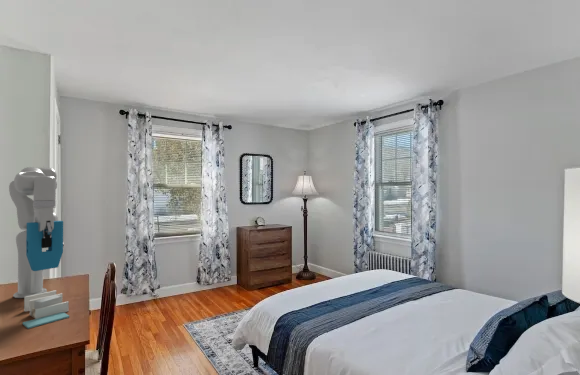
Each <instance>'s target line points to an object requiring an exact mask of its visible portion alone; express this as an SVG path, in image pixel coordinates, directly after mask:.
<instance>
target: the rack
mask: <svg viewBox="0 0 580 375" xmlns="http://www.w3.org/2000/svg"><path fill="white" fill-rule="evenodd" d="M63 294H64V293H62V292H61V293H57V290H56V289H55V290H51V291H47V292H45V293H40V294H35V295H31V296H26V297H24V298H23V299H24V300H23V302H24V303H23V304H24V305H23V312H29V316H31V317H32V308H34V307H35V301H37V300H41V299H44V298H47V297H51V296H54V295H57V296H62V297H63ZM62 302H63V301H62ZM69 310H70V309H69V301H68V300H67V301H64V302H63V303H59V304H55V305H51V306H47V307H43V308H38V309H35V318H34V319H38V318H41V317H45V316H49V315H53V314H57V313H61V312H64V313H67V312H69Z"/></svg>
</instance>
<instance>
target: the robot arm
mask: <svg viewBox="0 0 580 375" xmlns="http://www.w3.org/2000/svg"><path fill="white" fill-rule="evenodd" d="M57 178H58V175H57V172H56V170H55V169H54V168H52V167H41V166H39V167H38V166H36V167H35V166H29V167H27V166H26V167H24V168H23V169H21V171H20V172H18V173H17V174H16V175H15V177H14V180H12V181H11V182H10V183H9V185H8V188H9V189H8V191H9V196H10V198H11V200H12V202H13V204H14V206H15V207H16V208H15V209H16V213H17V214H16V215H17V224H18V227H19V229H20V230H22V231H20V232H19V233H18V234H16V237H15V243H16V248H17V291H16V292H15V293H13V295H12V296H13V298H15V299H24V297H26V296H31V295H35V294H40V293H45V292H48V290H47V288H45V287H44V270H39V271H33V270H31V267H30V264H29V261H28V259H27V256H26V235H27V223H30V222H36V223H38V231H39V232H41V231H42V235H43V238H42V249H47V248H48V247H51V232H52V230H53V229H54V221H59V217H58V215H57V213H56V212H54V209H56V206H57V205H56V204H57V203H56V202H57V201H56V200H57V196H56V195H57V193H56V192H57V188H58V181H57ZM30 196H33V198H31V197H30ZM51 227H52V229H51ZM44 230H47V231H44Z"/></svg>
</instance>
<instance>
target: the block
mask: <svg viewBox="0 0 580 375" xmlns="http://www.w3.org/2000/svg"><path fill="white" fill-rule="evenodd" d="M51 229H52V227H51ZM44 231H47V230H44ZM42 238H43V235H42V231H41V232H39V231H38V223H36V222H30V223H27V235H26V256H27V259H28V261H29V264H30V267H31V270H33V271H39V270H43V271H44V270H51V269H56V268H59V266H60V263H61V259H62V256H63V252H64V221H63V220H58V221H54V229H53V230H52V232H51V247H48V249H46V251H43V248H42Z"/></svg>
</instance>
